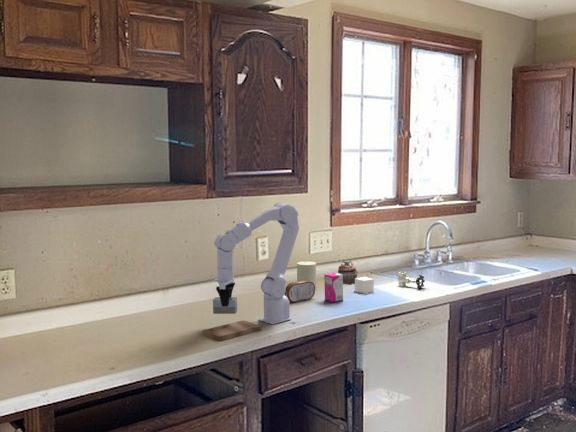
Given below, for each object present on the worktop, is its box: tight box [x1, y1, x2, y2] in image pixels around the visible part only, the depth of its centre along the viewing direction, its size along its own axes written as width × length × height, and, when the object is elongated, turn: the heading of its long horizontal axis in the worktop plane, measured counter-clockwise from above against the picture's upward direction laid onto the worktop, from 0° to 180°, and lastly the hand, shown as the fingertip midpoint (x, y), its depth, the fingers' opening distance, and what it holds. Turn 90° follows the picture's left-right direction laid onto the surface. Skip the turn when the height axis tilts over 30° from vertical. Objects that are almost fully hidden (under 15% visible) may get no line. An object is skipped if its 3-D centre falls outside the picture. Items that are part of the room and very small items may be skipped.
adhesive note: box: [354, 276, 375, 294], centre depth 264 cm, size 6×6×6 cm
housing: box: [212, 296, 238, 315], centre depth 210 cm, size 4×8×5 cm, turn 86°
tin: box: [284, 280, 316, 303], centre depth 249 cm, size 15×3×8 cm, turn 126°
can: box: [296, 260, 317, 289], centre depth 273 cm, size 9×9×12 cm
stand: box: [202, 319, 262, 342], centre depth 205 cm, size 18×10×2 cm, turn 132°
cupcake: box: [337, 260, 359, 284], centre depth 285 cm, size 10×10×10 cm
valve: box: [397, 271, 426, 290], centre depth 272 cm, size 7×7×12 cm
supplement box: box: [323, 272, 344, 304], centre depth 248 cm, size 6×6×12 cm
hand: (226, 304), depth 210 cm, fingers closed on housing, 4 cm apart
